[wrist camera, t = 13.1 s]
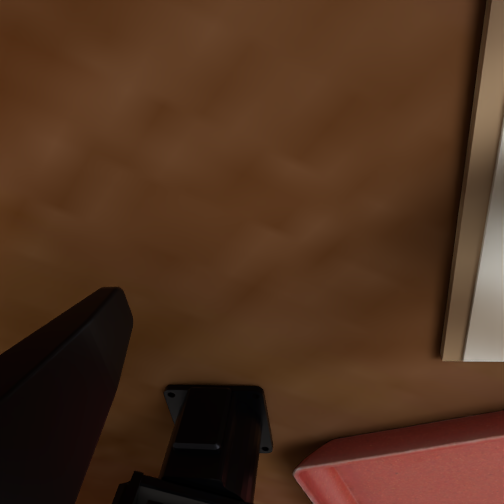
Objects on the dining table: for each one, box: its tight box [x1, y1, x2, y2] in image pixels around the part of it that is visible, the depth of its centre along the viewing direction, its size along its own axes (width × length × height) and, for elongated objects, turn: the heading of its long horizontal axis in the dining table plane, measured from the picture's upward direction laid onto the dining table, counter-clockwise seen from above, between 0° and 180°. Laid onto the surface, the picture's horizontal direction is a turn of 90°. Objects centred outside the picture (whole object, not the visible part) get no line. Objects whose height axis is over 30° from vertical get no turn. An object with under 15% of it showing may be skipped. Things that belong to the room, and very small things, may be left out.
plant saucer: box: [293, 410, 504, 504], centre depth 31 cm, size 18×18×3 cm
